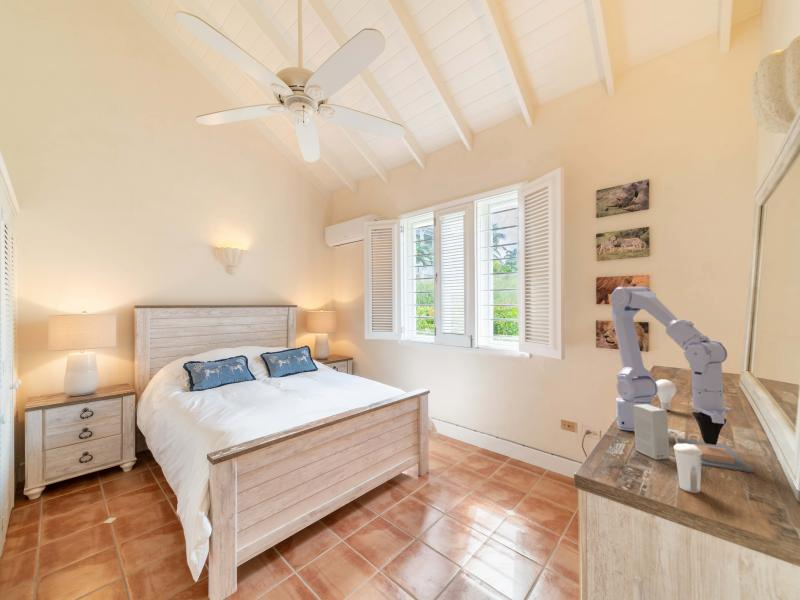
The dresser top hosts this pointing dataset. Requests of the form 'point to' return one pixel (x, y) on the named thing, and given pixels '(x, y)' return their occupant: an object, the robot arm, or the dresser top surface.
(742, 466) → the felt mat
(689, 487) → the milkshake
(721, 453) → the tile
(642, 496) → the dresser top surface
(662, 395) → the lightbulb
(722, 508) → the dresser top surface
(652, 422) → the skincare box
